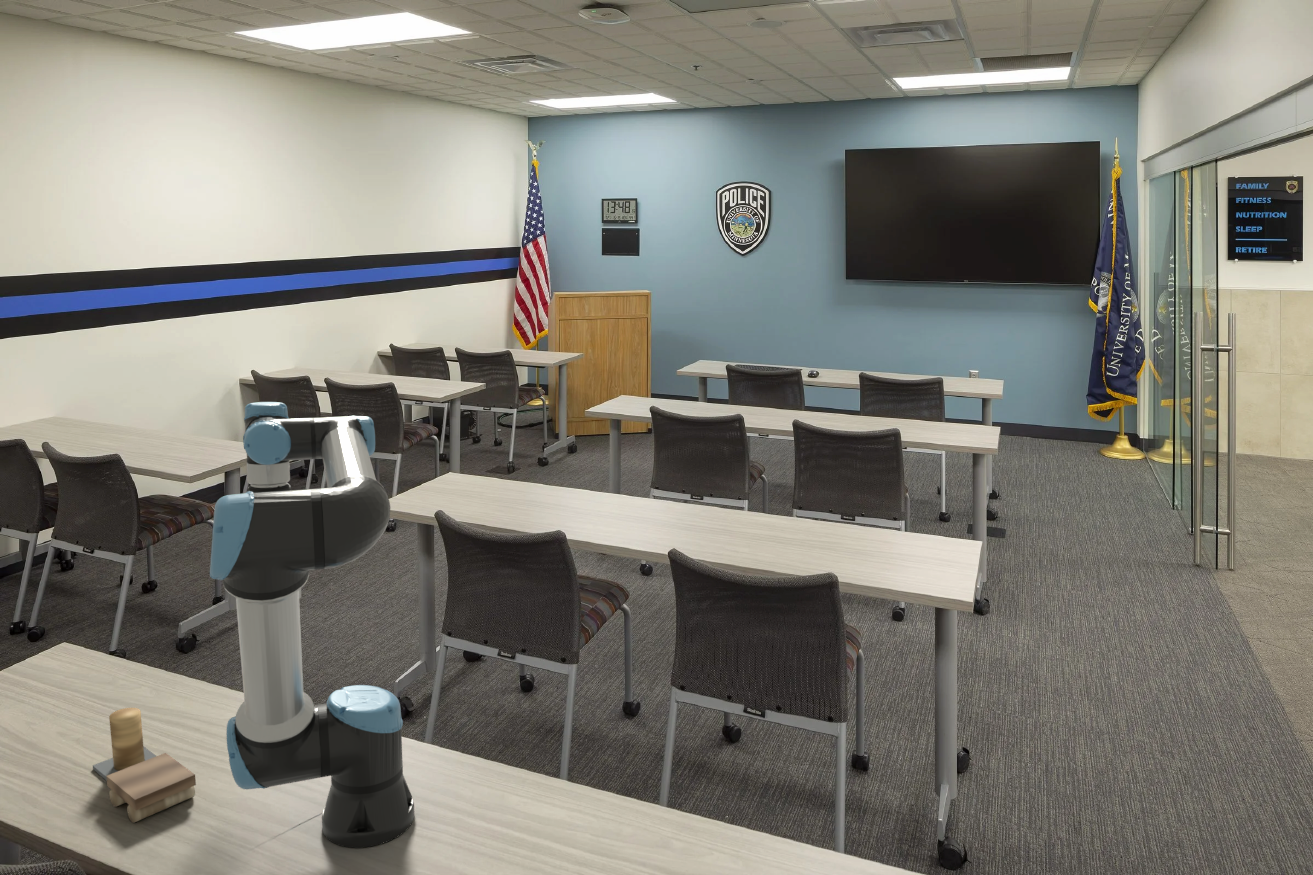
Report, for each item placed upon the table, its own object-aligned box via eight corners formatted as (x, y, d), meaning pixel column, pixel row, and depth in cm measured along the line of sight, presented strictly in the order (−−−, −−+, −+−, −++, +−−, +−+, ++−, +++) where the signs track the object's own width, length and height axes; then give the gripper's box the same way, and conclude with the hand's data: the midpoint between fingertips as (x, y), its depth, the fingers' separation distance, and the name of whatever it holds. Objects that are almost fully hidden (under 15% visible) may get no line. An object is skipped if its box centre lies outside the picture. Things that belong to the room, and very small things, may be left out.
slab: (197, 800, 162) (195, 774, 162) (137, 826, 155) (134, 799, 154) (167, 777, 169) (165, 752, 168) (108, 801, 161) (106, 775, 160)
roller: (149, 762, 172) (145, 713, 170) (121, 774, 168) (116, 723, 166) (137, 753, 175) (133, 704, 173) (109, 764, 171) (104, 714, 169)
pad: (165, 766, 173) (165, 762, 172) (114, 787, 166) (113, 783, 165) (143, 749, 178) (143, 745, 178) (92, 769, 171) (92, 765, 171)
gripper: (325, 489, 170) (329, 600, 173) (251, 473, 185) (256, 575, 188) (288, 495, 164) (292, 610, 167) (215, 478, 179) (220, 584, 182)
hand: (273, 592), depth 178 cm, fingers open, 13 cm apart
